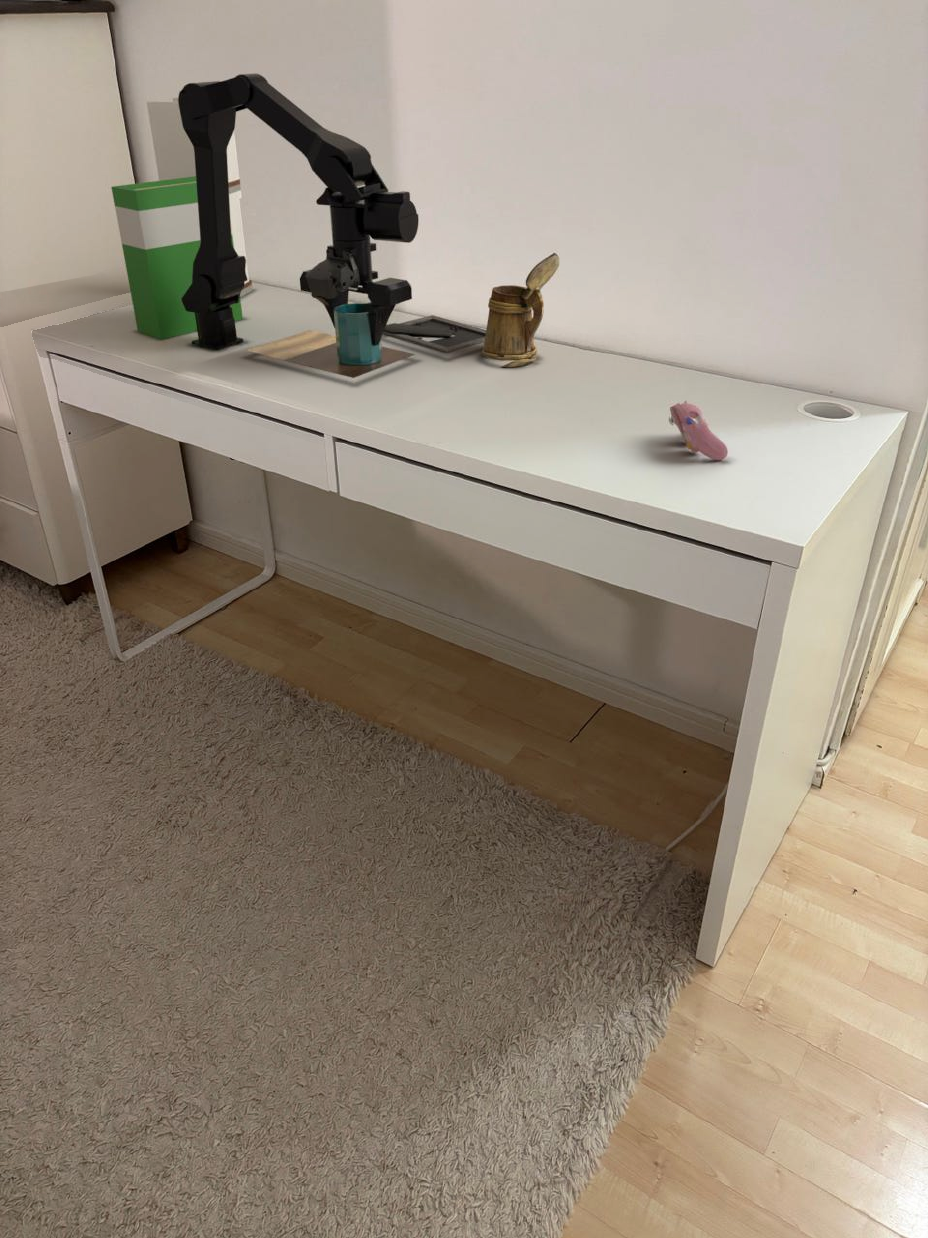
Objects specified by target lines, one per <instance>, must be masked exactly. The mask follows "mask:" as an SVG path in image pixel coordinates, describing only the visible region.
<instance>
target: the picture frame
mask: <svg viewBox="0 0 928 1238" xmlns="http://www.w3.org/2000/svg"><path fill="white" fill-rule="evenodd" d="M383 335H386V336H390V337H393V338H395V339H398V340H402V341H406V342H409V343H412V344H416V345H418V346H421V347H425V348H428V349H431V350H435V351H439V352H440V353H441V352H442V353H444V354H450V353H453V352H457V351H459V350H464V349H467V348H470V347H474V346H477V345H481V344H484V343H485V336H486V329H485V328H481V327H477V326H473V325H469V324H466V323H462V322H459V321H455V320H451V319H448V318H443V317H440V316H436V315H434V314H431V315H427V316H424V317H420V318H416V319H415V318H414V319H412V320H408V321H403V322H400V323H396V322H394V323H387V324H386V327H385V329H384V332H383ZM411 335H418V336H430V337H431V336H432V337H442V338H438V339H433V340H424V339H423V337H416V336H415V337H414V336H411Z"/></svg>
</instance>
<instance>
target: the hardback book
mask: <svg viewBox="0 0 928 1238" xmlns="http://www.w3.org/2000/svg"><path fill="white" fill-rule="evenodd" d="M111 193H112V198H113V204H114V210H115V214H116V219H117V225H118V232H119V236H120V242H121V247H122V252H123V258H124V264H125V268H126V269H125V270H126V275H127V279H128V285H129V290H130V296H131V301H132V307H133V313H134V318H135V323H136V328H137V332H138V333H141V334H144V335H147V336H150V337H153V338H155V339H158V340H163V339H168V338H173V337H176V336H181V335H184V334H188V333H193V332H197V326H196V319H195V313H194V312H187V311H186V310H185V307H184V305H183V303H182V300H181V299H182V297H183V296H184V294H185V293H186V291H187V290H188V288H189V287H190V286H191V284H192V273H193V262H194V259H195V257H196V254H197V252H198V249H199V247H200V227H199V213H198V198H197V184H196V176H194V177H186V178H178V179H170V180H161V181H159V180H154V181H146V182H138V183H130V184H123V185H122V184H121V185H114V186H113V185H112V186H111ZM230 222H231V220H230ZM231 241H232V246H233V247H234V244H233V236H232V228H231ZM230 307H231V308H232V311H233V317H234V319H235V322H238V321H243V320H244V317H243V310H242V300H241V298H240V299H239V303H237V304H233V305H230Z"/></svg>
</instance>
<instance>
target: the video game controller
mask: <svg viewBox="0 0 928 1238" xmlns="http://www.w3.org/2000/svg"><path fill="white" fill-rule="evenodd" d="M669 411H670V415H671V416H668V422H669V424H670V425H672V426H674V425H675V426H676V427H677V429H678V431H679V433H680V435H681V436H682V439H683V441H684V442H685V444H686V448H687V449H688V450H690V451H691V452H692V454H693V455H695V454H697V453H701V454H702V455H704V456H705V457H707V458H709V459H711V460H713V461H723V460H725V459H726V458H727V456H728V453H729V450H728V447H727V445H726V444H725V442H723V441H722V440H721V439H719V438H718V436H716V435H715V434H714V433H713V431H711V430H710V428H709V425H708V423H707V421H706V419H704V418H703V414H702V411H701V409H700V408H699V407H698V406H697V405H695V404H692V403H688V401H687V400H684V402H678V403H676V404H674V405H671V406H670V407H669Z"/></svg>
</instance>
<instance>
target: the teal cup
mask: <svg viewBox="0 0 928 1238" xmlns="http://www.w3.org/2000/svg"><path fill="white" fill-rule="evenodd" d="M366 303H367V302H352V303H348V304H343V305H340V306H337V307H336V308H335V309H334V320H335V328H334V331H335V336H336V345H337V356H338V360H339V362H341V363H343V364H346V365H369V364H373V363H376V362H379V361H380V360H381V355H382V348H381V346H382V339H381V340H380V342H379V344H378V345H376V346H373V344H372V339H371V330H370V319H369V313H368V311H367V310H366V309H365V307H364V306H363V304H366Z"/></svg>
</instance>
